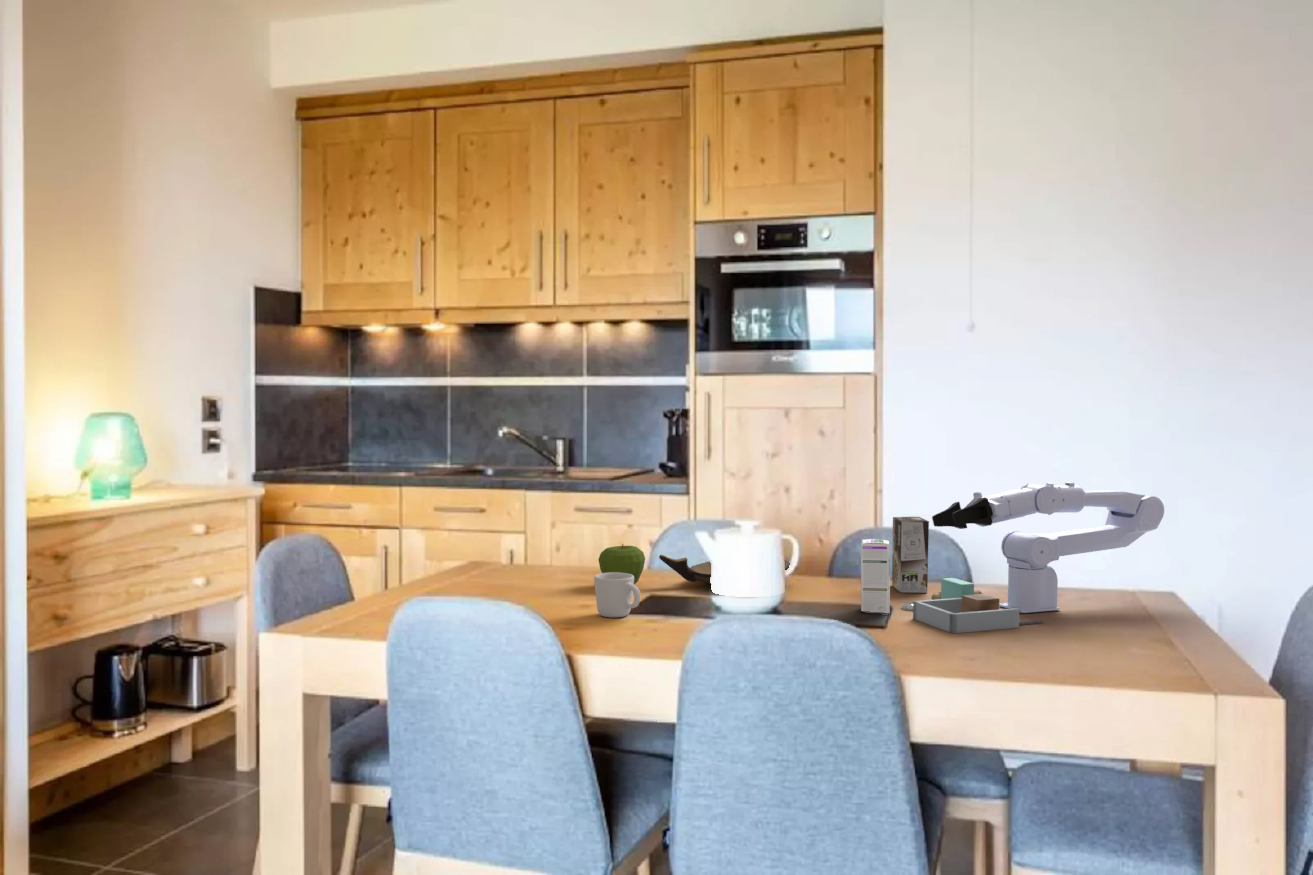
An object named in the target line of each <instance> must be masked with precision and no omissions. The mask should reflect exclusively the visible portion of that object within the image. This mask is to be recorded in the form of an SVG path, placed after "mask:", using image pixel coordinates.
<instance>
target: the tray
mask: <svg viewBox="0 0 1313 875" xmlns="http://www.w3.org/2000/svg"><path fill="white" fill-rule="evenodd" d="M912 602H913V611H912V619H913V620H915V621H918V622H921V623H924V624H926V625H929V626H932V627H934V628H937V629H940V630H942V631H946V632H949V633H951V634H959V633H970V632H972V633H973V632H981V631H982V632H983V631H992V630H993V631H994V630H1004V629H1016V628H1020V625H1019V622H1020V612H1019V609H1017V608H1012V609H1008V608H1001V609H1000V608H999V610H988V611H975V612H963V613H962V598H949V599H936V600H932V599H925V600H924V599H923V600H913V601H912Z"/></svg>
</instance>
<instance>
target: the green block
mask: <svg viewBox="0 0 1313 875" xmlns="http://www.w3.org/2000/svg"><path fill="white" fill-rule="evenodd" d="M974 590H975V583H973V582H969V581H965V580H962V579H959V578H955V577H945V578H941V581H940V592H941V599H949V598H962V595H974Z"/></svg>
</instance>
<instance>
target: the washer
mask: <svg viewBox="0 0 1313 875" xmlns="http://www.w3.org/2000/svg"><path fill="white" fill-rule="evenodd" d="M901 609H902V610H905V611H910V612H913V601H905V602H902V603H901Z"/></svg>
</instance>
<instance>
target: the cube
mask: <svg viewBox="0 0 1313 875" xmlns="http://www.w3.org/2000/svg"><path fill="white" fill-rule="evenodd" d="M999 603H1000V598H998V597H996V596H995V597H994V596H991V595H989V594H985V593H982V594H974V595H962V613H963V612H975V611H988V610H1000V606H999Z"/></svg>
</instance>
